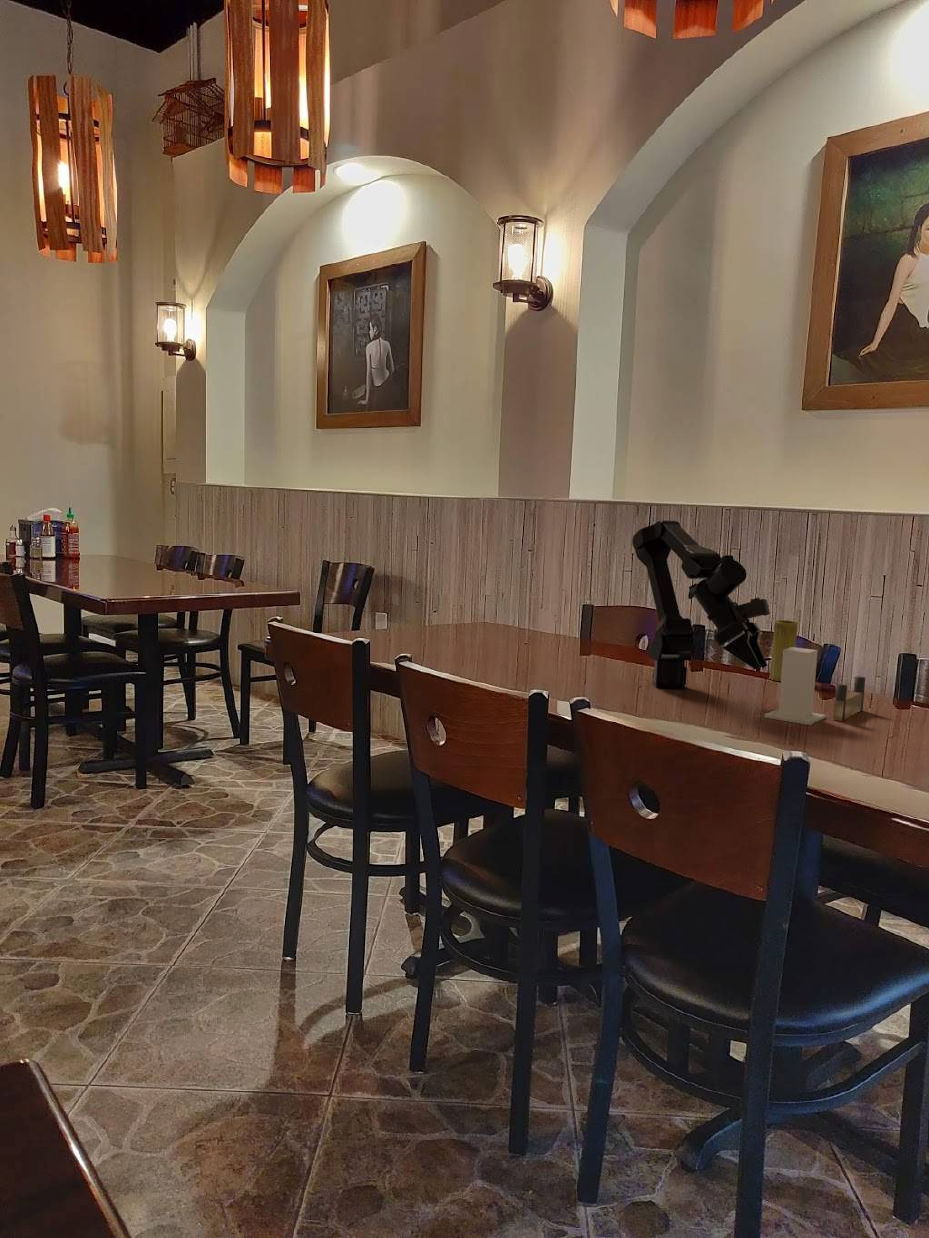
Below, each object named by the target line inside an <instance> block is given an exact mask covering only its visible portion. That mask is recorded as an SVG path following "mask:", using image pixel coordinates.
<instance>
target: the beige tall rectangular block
mask: <svg viewBox="0 0 929 1238" xmlns="http://www.w3.org/2000/svg"><path fill="white" fill-rule="evenodd" d="M817 660H818V649H812V648H811V649H810V648H803V647H797V646H796V647H791V648H787V649H784V650H783V659H782V673H781V682H780V689H779V703H778V709H779V713H778V714H779V715H785V716H791V717H797V718H803V719H804V718H806V717H808V716H810V715H812V713H814V701H815V700H814V697H815V688H816V687H815V685H816V672H817Z"/></svg>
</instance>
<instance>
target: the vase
mask: <svg viewBox="0 0 929 1238" xmlns="http://www.w3.org/2000/svg"><path fill="white" fill-rule="evenodd" d="M798 626H799V625H798V622H797V621H795V620H785V619H783V620H781V619H778V620H777V619H776V620H775V621H774V627H773V628H774V629H773V638H772V651H771V657H770V658H771V661H770V662H771V663H770V672H769V677H768V679H769V680H770V679H771V681H774V680H775V682H780V681H781V673H782V659H783V650H784V649H787V648H791V647H796V648H797V639H798V638H797V637H798V636H797V635H798Z"/></svg>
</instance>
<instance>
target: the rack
mask: <svg viewBox="0 0 929 1238" xmlns="http://www.w3.org/2000/svg"><path fill="white" fill-rule="evenodd" d="M853 685H854V686H853V691H852V692H850V693H847V692H848V685H847V684H839V683H837V684H836V685H835V686H836V687H835V694H834V695H835V697H834V698H835V699H834V705H833V717H832V718H833V721H836V720H839V721H838V722H844V721H845V720H847V719H849V718H851V717H852V716H851V715H853V714H855V713H857V712H859V713H861V712H860V711H862V712H863V710H864V700H865V686H866V677H864V676H854V684H853ZM857 714H858V713H857ZM855 715H856V714H855ZM850 716H851V717H850ZM853 716H854V715H853ZM848 717H849V718H848ZM846 718H847V719H846ZM844 719H845V720H844Z"/></svg>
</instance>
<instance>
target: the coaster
mask: <svg viewBox="0 0 929 1238" xmlns="http://www.w3.org/2000/svg"><path fill="white" fill-rule="evenodd" d="M778 713H779V708H777V709H775V710H772V711H769V712H767V713H765V714H764V718H766V719H772V720H778V721H783V722H788V723H790V722H791V723H796V724H800V725H801V724H802V725H806V726H812V725H814V724H816V723H818V722H820V721H822V720H824V719H826V718H827V715H826V714H824V713H817V712H813V713H812V715H810V716H808V717H806V718H804V719H803V718H797V717H791V716H785V715H779V714H778ZM825 717H826V718H825ZM815 722H816V723H815ZM813 723H814V724H813Z"/></svg>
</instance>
